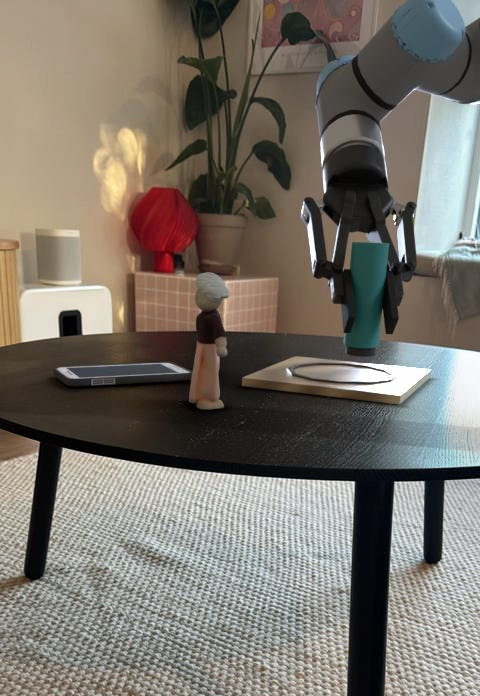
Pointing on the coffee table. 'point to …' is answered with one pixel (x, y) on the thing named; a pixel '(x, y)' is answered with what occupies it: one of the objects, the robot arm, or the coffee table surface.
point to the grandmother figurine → (208, 342)
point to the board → (340, 379)
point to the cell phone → (121, 374)
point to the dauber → (367, 297)
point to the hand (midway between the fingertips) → (370, 325)
